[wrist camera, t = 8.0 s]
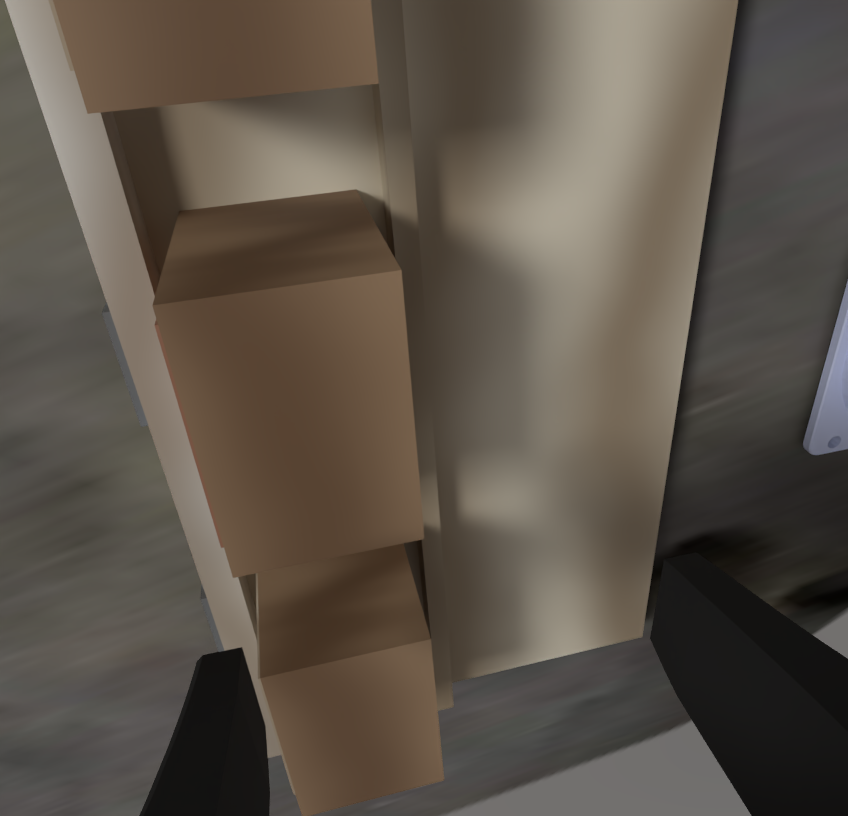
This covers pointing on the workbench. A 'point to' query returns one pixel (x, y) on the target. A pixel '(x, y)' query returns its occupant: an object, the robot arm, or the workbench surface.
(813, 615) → the workbench surface
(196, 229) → the turned block
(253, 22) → the faced block
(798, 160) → the workbench surface
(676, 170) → the long shallow wooden tray
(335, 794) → the faced block
